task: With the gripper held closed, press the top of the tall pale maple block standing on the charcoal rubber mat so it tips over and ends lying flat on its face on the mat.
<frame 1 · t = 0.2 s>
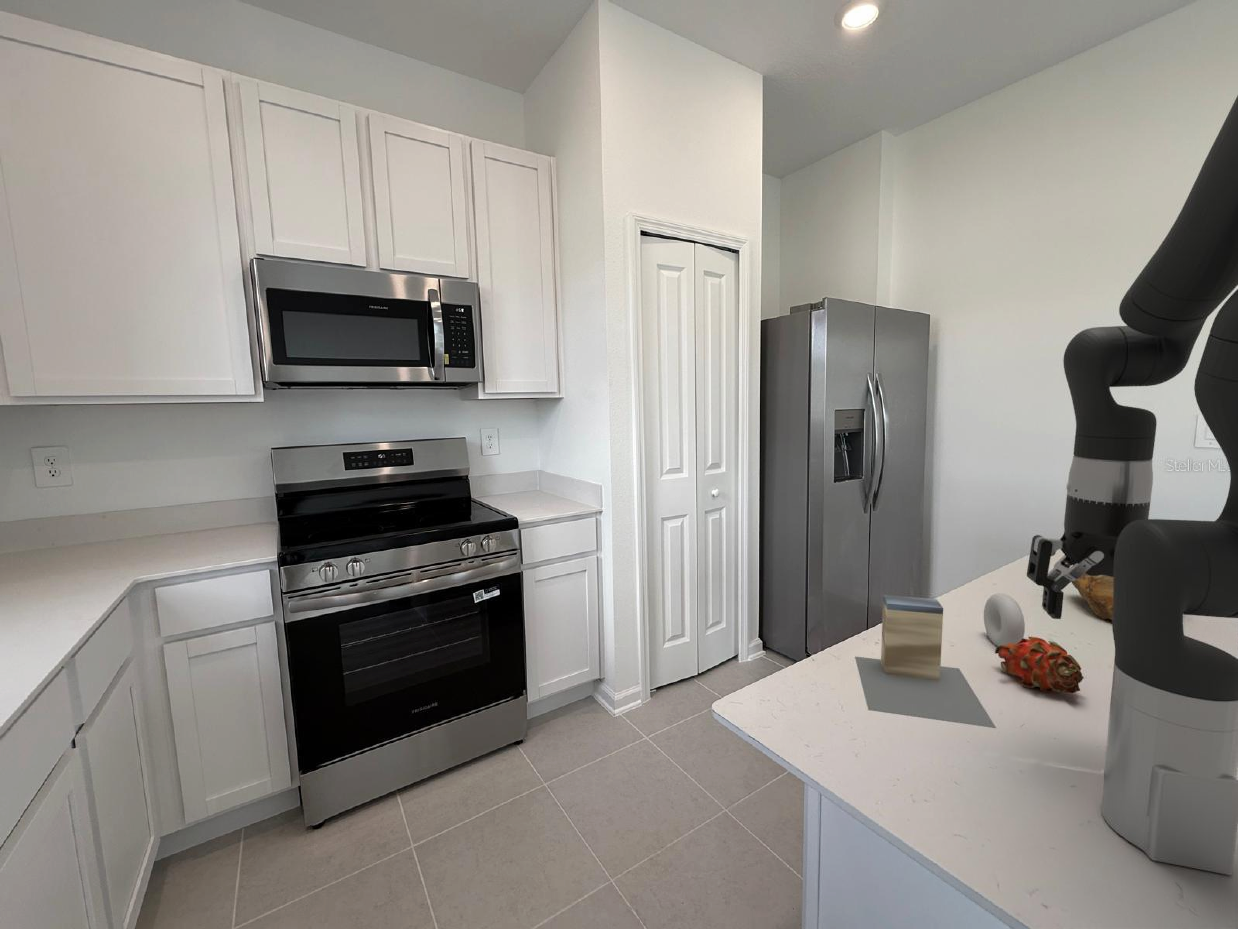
hand: (1093, 619, 67), 17 cm above the countertop, tool pointing down, fingers open, 8 cm apart
rubber mat: (916, 691, 83), on the countertop
maple block: (909, 670, 88), point 1 cm above the countertop, touching rubber mat
dragon fruit: (1034, 688, 84), on the countertop
rough brown rock: (1115, 610, 113), on the countertop
donut: (1001, 648, 97), on the countertop
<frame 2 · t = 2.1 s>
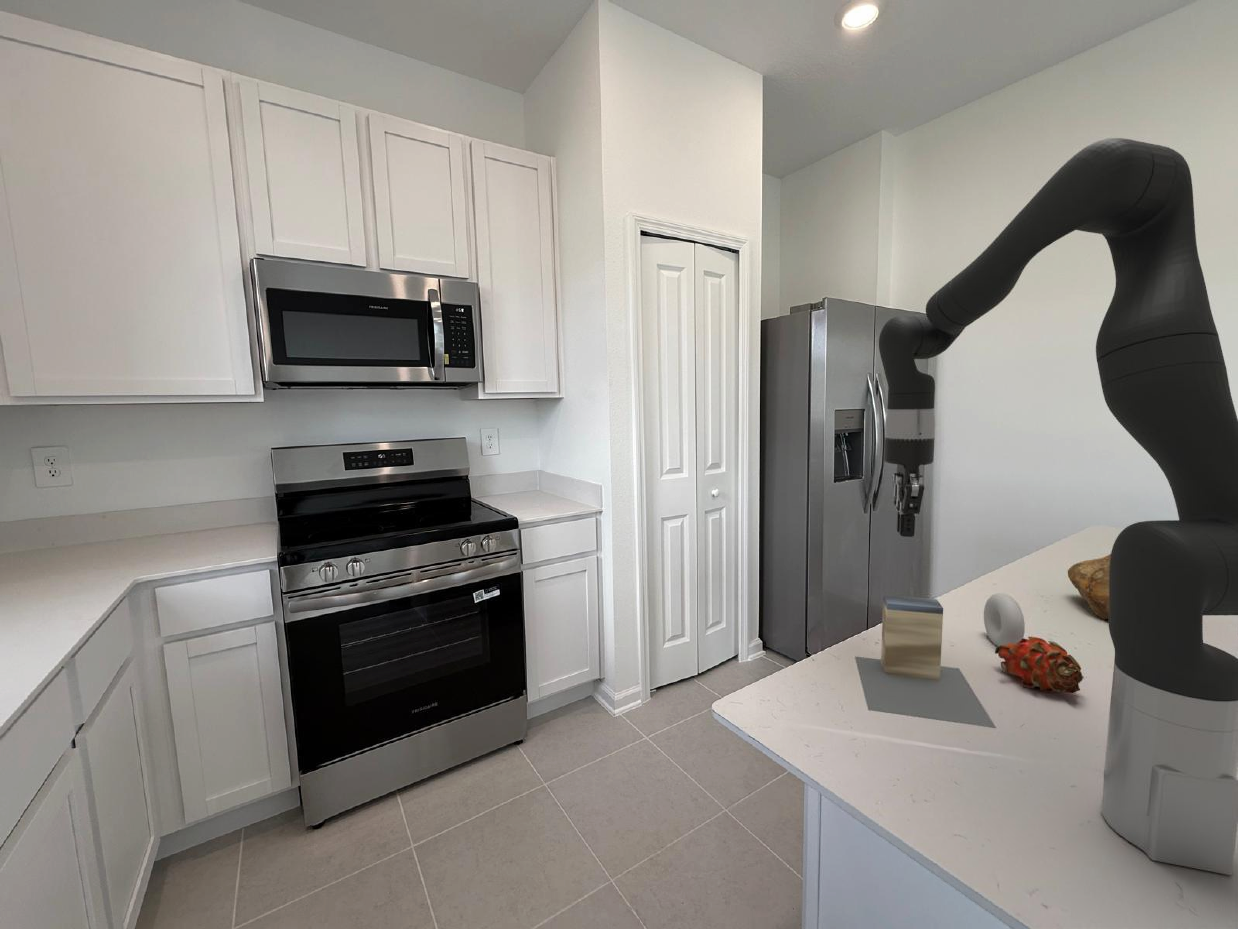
hand: (905, 534, 93), 22 cm above the countertop, tool pointing down, fingers closed
nothing on the countertop moved.
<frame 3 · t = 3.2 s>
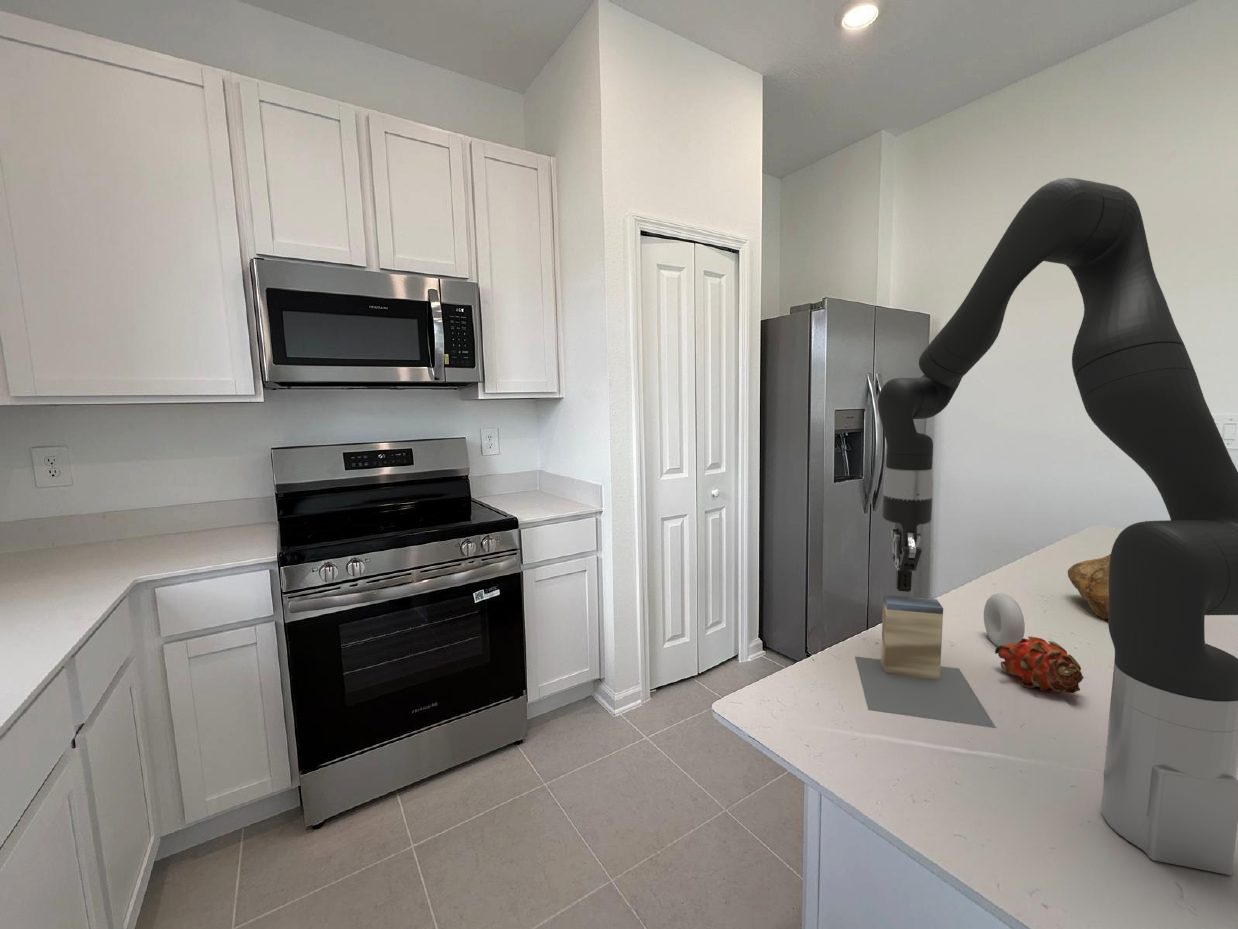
hand: (903, 589, 94), 12 cm above the countertop, tool pointing down, fingers closed
nothing on the countertop moved.
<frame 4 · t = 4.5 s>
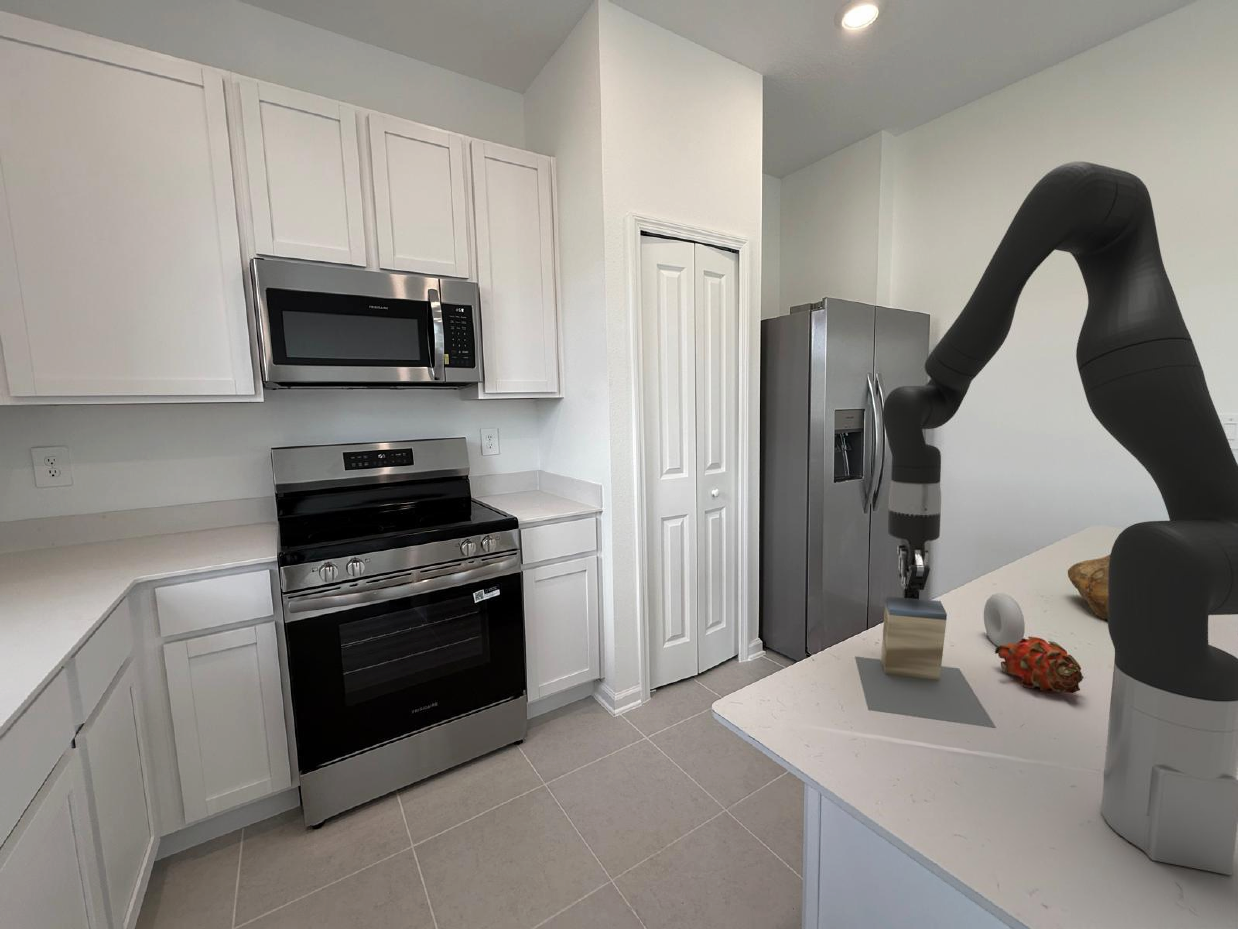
hand: (910, 609, 89), 10 cm above the countertop, tool pointing down, fingers closed
maple block: (909, 668, 88), point 1 cm above the countertop, tilted 10°, touching rubber mat
everything else where it was.
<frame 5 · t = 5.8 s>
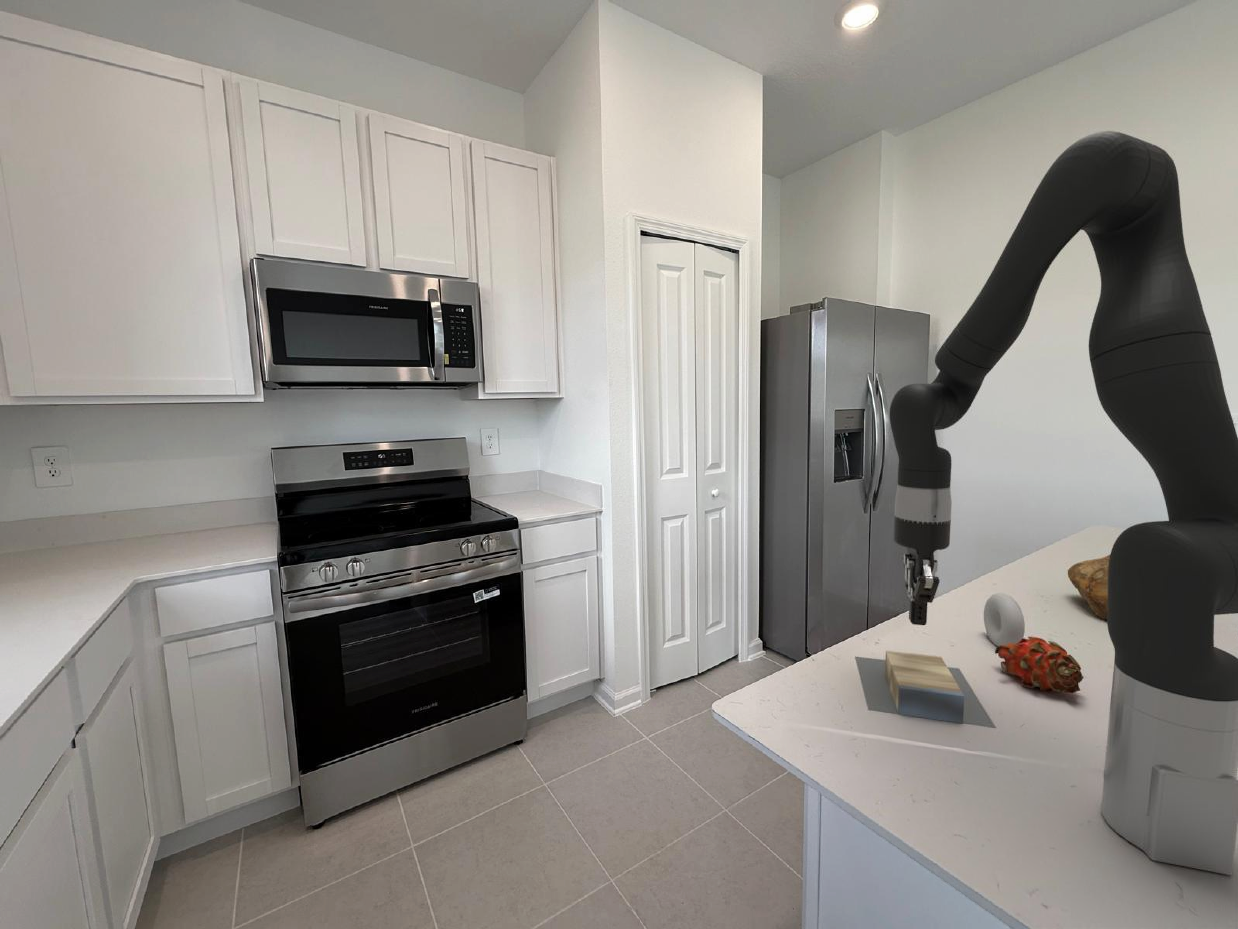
hand: (917, 622, 84), 11 cm above the countertop, tool pointing down, fingers closed
maple block: (912, 665, 86), point 3 cm above the countertop, tilted 90°, touching rubber mat
everything else where it was.
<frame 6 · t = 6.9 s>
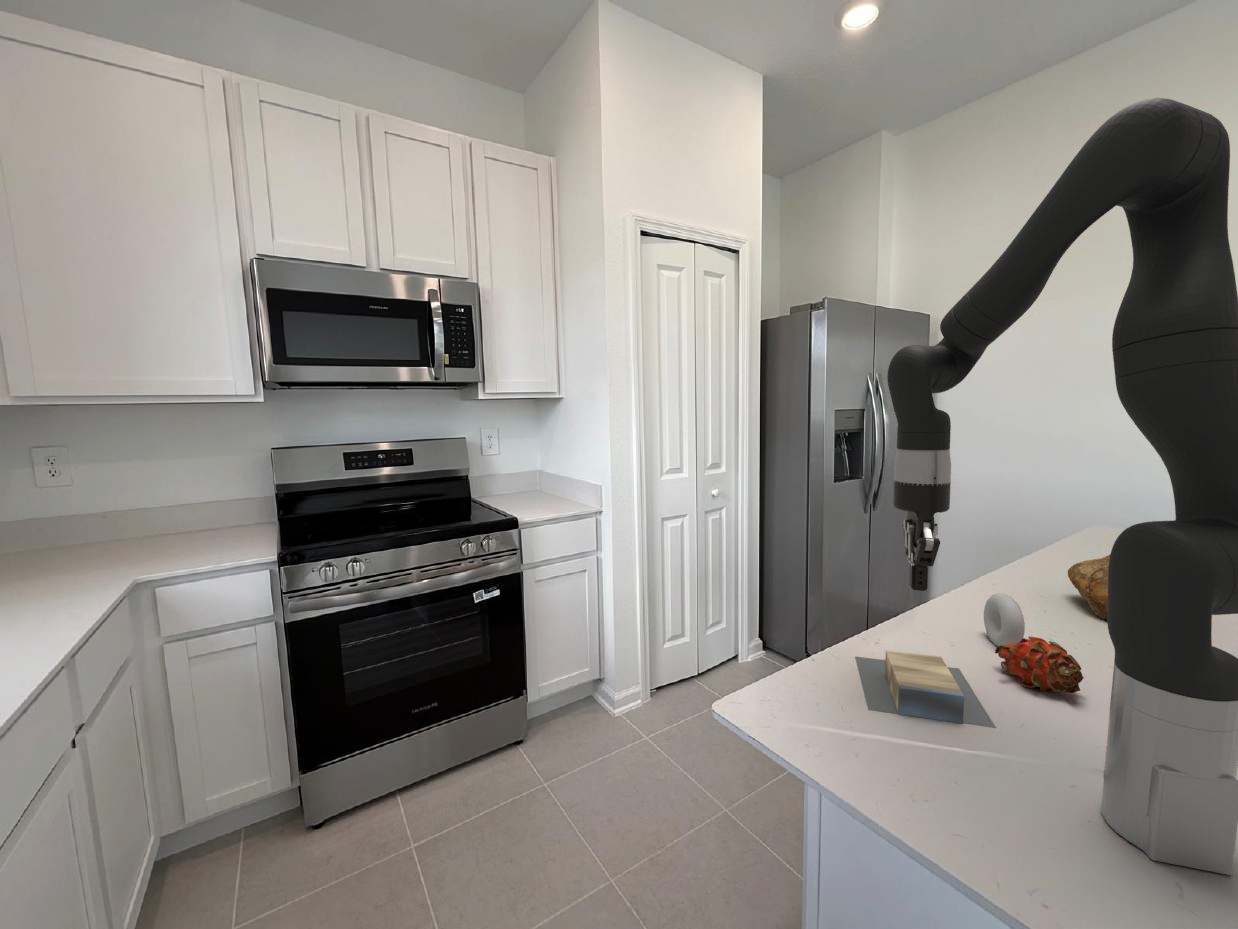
hand: (918, 588, 83), 16 cm above the countertop, tool pointing down, fingers closed
nothing on the countertop moved.
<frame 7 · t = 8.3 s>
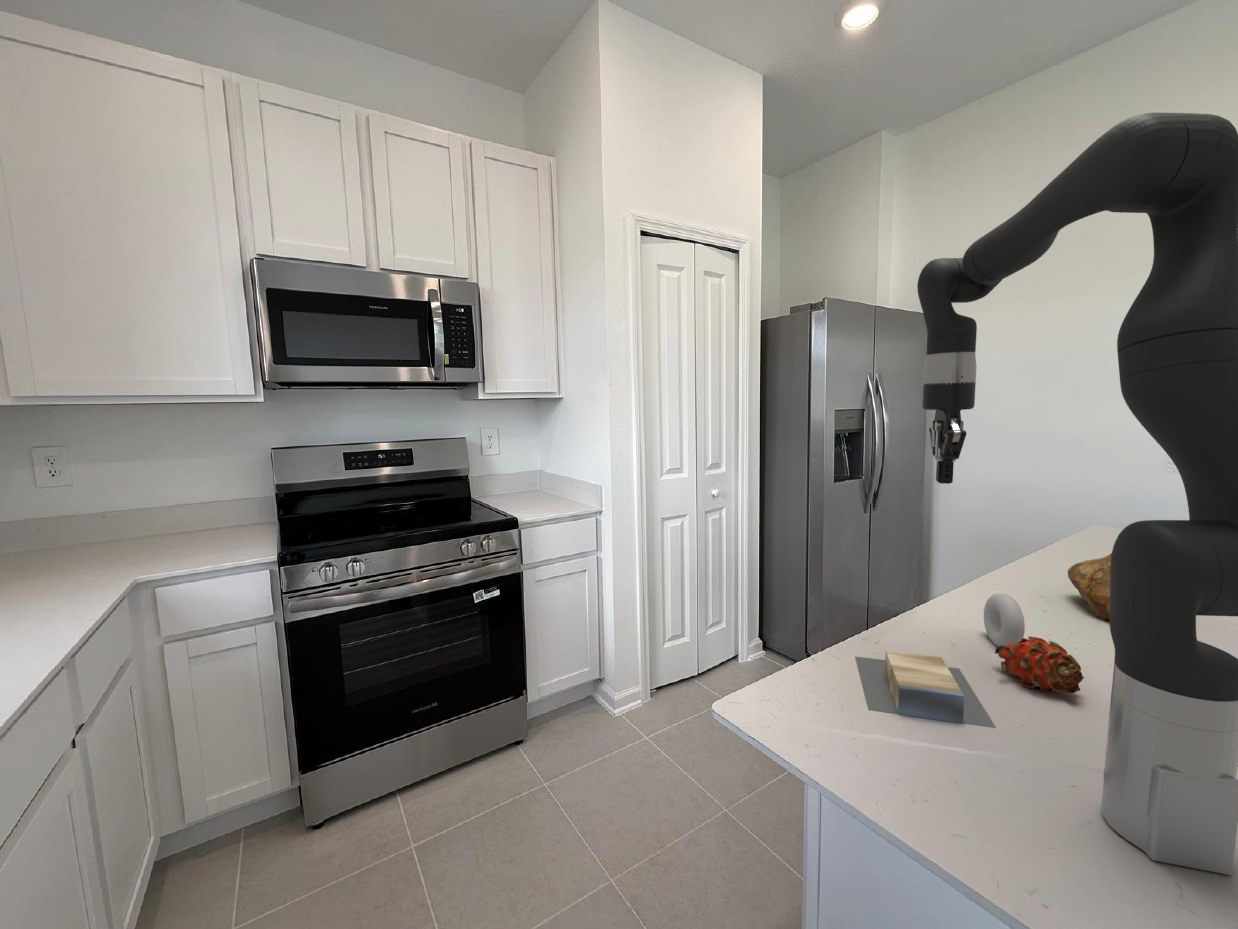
hand: (944, 482, 92), 31 cm above the countertop, tool pointing down, fingers closed
nothing on the countertop moved.
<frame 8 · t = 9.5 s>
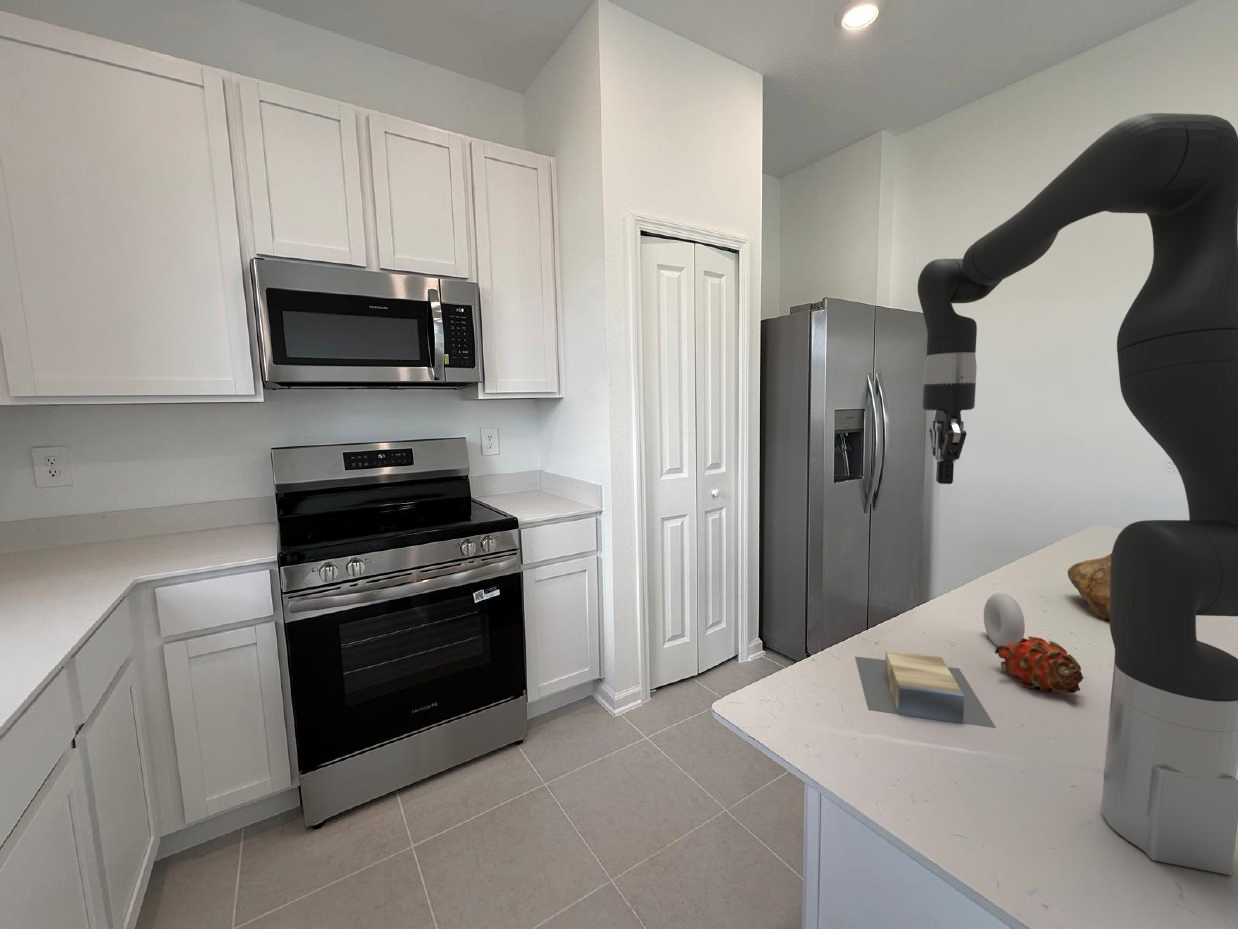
hand: (944, 483, 92), 31 cm above the countertop, tool pointing down, fingers closed
nothing on the countertop moved.
at the end: maple block tilted 90°; maple block inside the target area on the rubber mat (3.4 cm from its centre), point 2.6 cm above the rubber mat's base; the gripper is holding nothing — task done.
